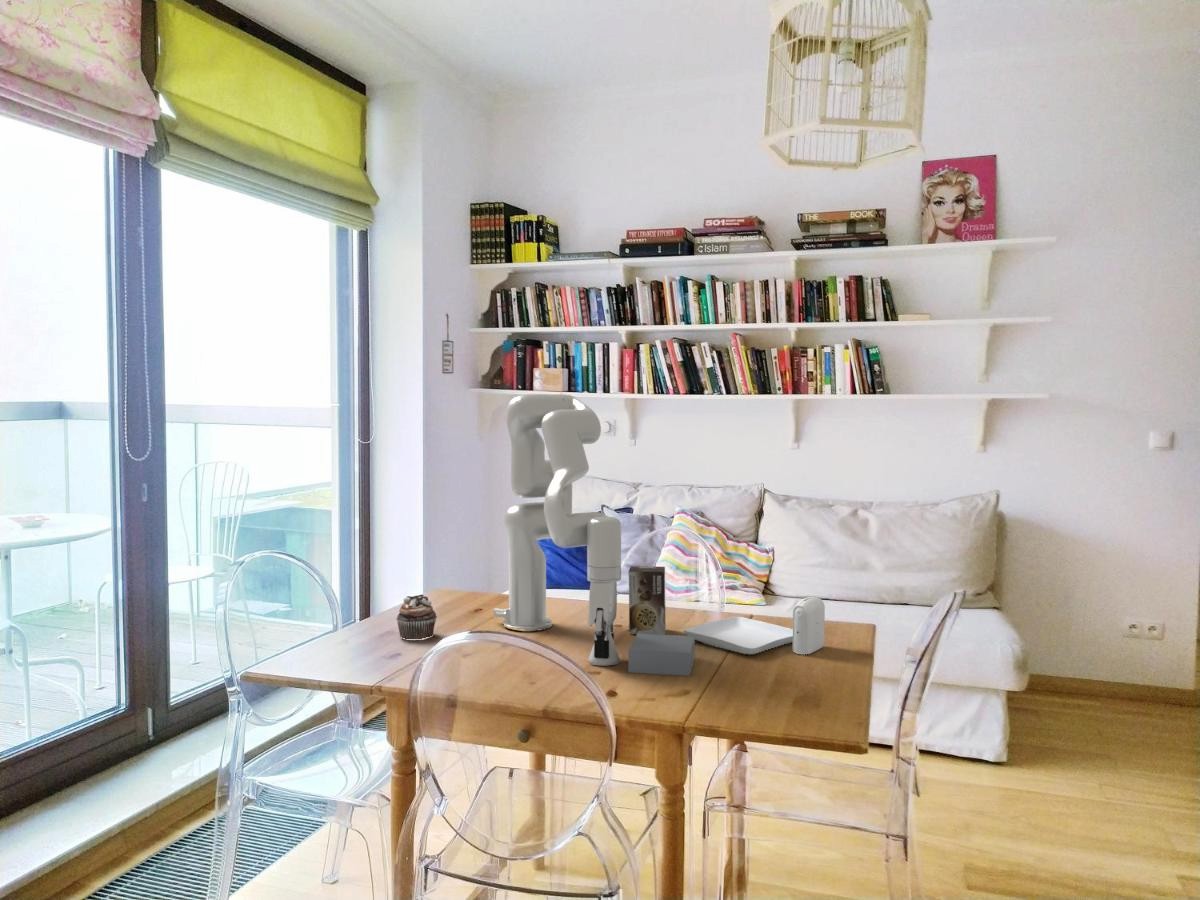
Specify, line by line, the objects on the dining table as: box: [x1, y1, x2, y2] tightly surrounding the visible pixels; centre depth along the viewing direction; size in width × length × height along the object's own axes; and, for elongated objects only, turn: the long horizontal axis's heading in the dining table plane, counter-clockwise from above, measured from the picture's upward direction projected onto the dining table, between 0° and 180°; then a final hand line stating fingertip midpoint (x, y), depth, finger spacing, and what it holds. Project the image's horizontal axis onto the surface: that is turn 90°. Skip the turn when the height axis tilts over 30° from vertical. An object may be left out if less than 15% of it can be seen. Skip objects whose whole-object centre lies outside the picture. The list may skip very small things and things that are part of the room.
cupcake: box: [396, 594, 437, 639], centre depth 217 cm, size 10×10×10 cm
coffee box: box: [628, 565, 667, 635], centre depth 222 cm, size 9×6×16 cm
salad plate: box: [682, 615, 793, 656], centre depth 213 cm, size 21×21×3 cm
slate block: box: [627, 634, 696, 677], centre depth 194 cm, size 13×13×5 cm
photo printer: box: [792, 596, 826, 656], centre depth 206 cm, size 10×4×12 cm, turn 141°
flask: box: [587, 623, 621, 667], centre depth 196 cm, size 7×7×10 cm
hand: (604, 653), depth 197 cm, fingers open, 5 cm apart
